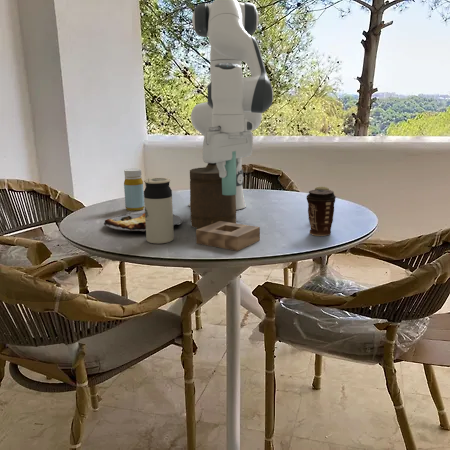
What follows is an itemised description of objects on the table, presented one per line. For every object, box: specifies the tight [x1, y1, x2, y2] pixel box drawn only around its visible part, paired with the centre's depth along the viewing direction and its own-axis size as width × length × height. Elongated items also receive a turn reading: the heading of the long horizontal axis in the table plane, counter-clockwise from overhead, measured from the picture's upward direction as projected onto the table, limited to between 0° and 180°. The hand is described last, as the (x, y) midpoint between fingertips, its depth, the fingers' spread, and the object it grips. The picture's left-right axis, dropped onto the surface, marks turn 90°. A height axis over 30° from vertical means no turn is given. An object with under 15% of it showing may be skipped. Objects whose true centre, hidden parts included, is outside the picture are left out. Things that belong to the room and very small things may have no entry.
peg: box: [222, 151, 236, 195], centre depth 136 cm, size 4×4×12 cm
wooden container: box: [189, 163, 237, 230], centre depth 157 cm, size 15×15×22 cm
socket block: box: [195, 221, 261, 252], centre depth 140 cm, size 14×12×4 cm
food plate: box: [103, 211, 183, 233], centre depth 159 cm, size 25×23×4 cm
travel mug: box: [143, 177, 175, 245], centre depth 141 cm, size 8×8×18 cm
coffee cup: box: [306, 189, 337, 237], centre depth 146 cm, size 9×8×13 cm
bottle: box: [123, 168, 145, 212], centre depth 182 cm, size 7×7×15 cm
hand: (228, 175), depth 136 cm, fingers closed on peg, 4 cm apart
